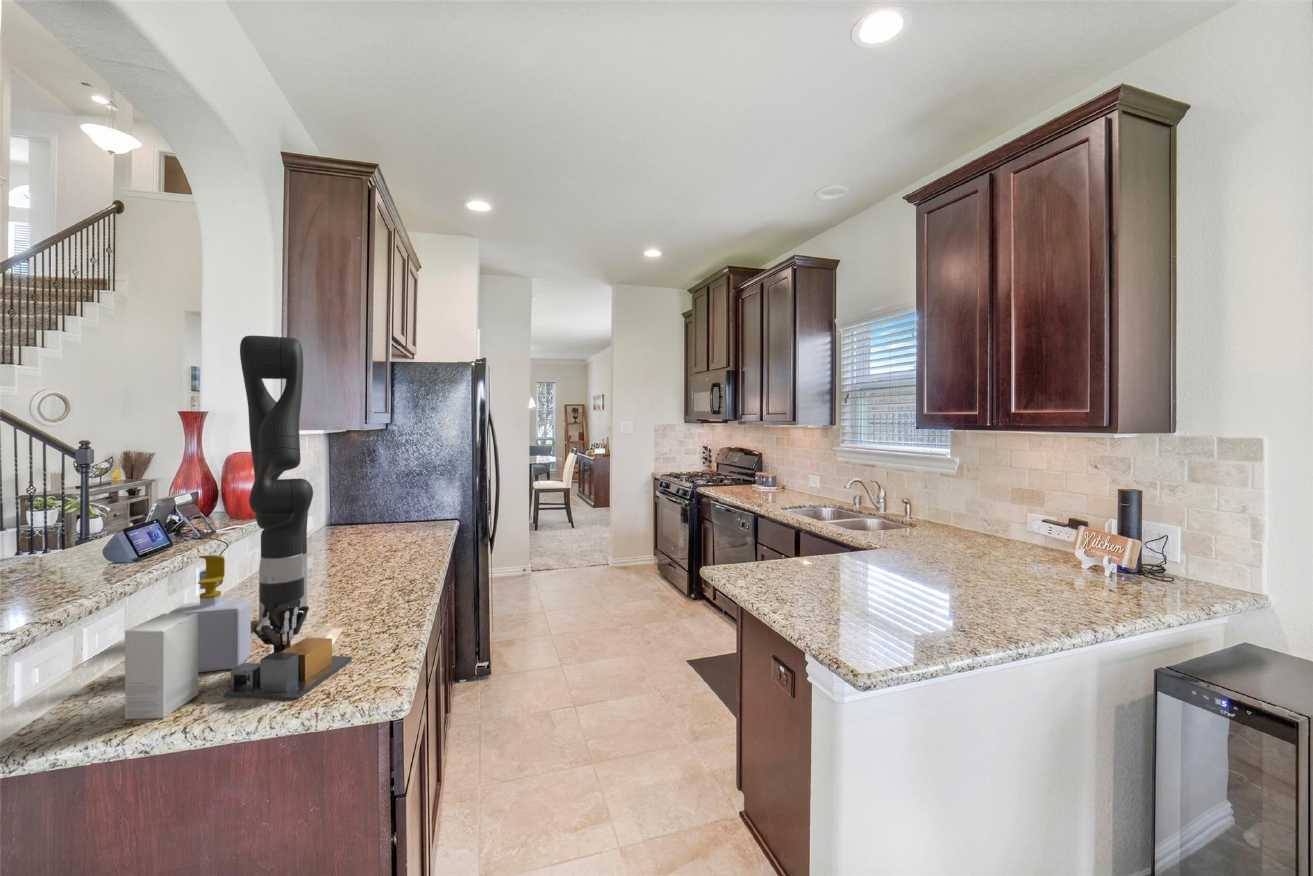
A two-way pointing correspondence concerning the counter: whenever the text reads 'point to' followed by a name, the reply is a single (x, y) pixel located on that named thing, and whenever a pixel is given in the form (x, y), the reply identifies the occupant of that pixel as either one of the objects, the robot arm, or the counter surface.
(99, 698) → the counter surface
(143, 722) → the counter surface
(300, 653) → the block
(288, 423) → the robot arm
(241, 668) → the stand
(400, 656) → the counter surface
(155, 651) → the skincare box
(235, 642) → the soap bottle
